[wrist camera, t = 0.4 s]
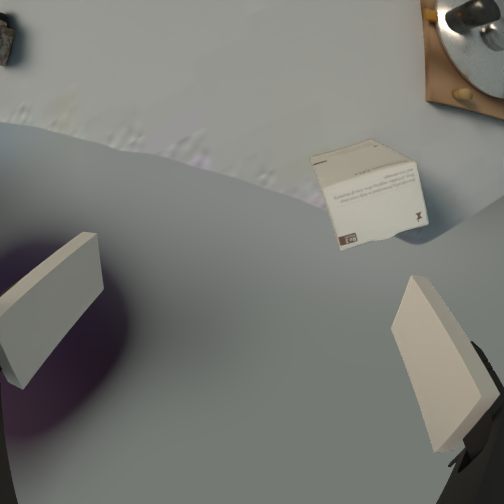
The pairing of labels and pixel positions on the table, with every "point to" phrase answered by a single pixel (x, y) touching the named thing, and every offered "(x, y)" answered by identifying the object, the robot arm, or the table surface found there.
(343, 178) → the skincare box
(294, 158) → the table surface
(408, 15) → the table surface
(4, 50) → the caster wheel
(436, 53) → the walnut board
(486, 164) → the table surface
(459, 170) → the table surface
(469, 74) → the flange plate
